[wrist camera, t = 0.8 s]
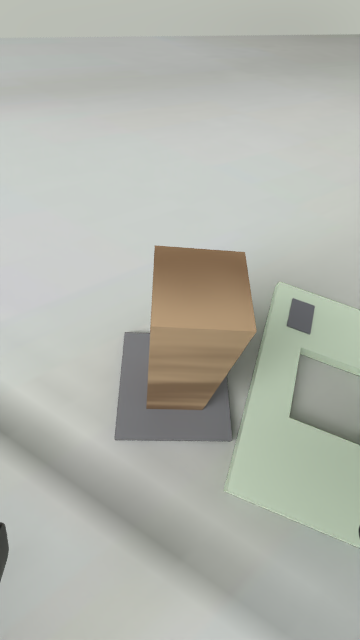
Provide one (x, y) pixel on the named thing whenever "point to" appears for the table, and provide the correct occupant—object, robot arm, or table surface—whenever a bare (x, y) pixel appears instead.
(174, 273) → the post
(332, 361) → the flange plate
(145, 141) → the table surface
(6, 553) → the robot arm
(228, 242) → the table surface
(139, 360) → the pad
